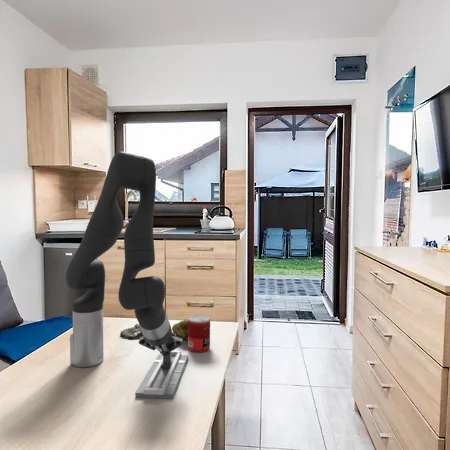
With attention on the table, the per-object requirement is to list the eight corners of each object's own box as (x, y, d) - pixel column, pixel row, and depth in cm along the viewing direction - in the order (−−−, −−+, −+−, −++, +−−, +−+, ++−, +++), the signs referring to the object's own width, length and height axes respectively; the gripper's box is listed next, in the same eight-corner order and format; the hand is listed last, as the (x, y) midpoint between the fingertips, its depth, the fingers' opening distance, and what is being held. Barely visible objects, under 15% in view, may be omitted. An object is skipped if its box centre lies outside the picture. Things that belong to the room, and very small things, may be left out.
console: (134, 398, 92) (134, 389, 92) (159, 357, 118) (158, 350, 118) (172, 399, 92) (172, 390, 92) (188, 358, 118) (188, 351, 117)
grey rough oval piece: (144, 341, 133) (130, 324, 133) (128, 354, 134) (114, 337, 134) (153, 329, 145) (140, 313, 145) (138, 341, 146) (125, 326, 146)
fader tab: (161, 368, 107) (161, 335, 106) (163, 364, 110) (163, 331, 109) (170, 368, 106) (170, 335, 106) (172, 364, 109) (172, 332, 109)
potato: (191, 332, 143) (192, 312, 142) (197, 344, 130) (197, 322, 130) (171, 334, 140) (171, 314, 140) (175, 346, 128) (175, 324, 128)
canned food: (207, 353, 121) (207, 322, 121) (185, 351, 123) (185, 320, 122) (212, 345, 129) (212, 315, 129) (191, 343, 130) (191, 314, 130)
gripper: (181, 313, 96) (188, 341, 108) (134, 312, 97) (146, 340, 109) (178, 340, 91) (185, 365, 103) (127, 338, 91) (141, 364, 104)
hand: (165, 352), depth 106 cm, fingers closed
